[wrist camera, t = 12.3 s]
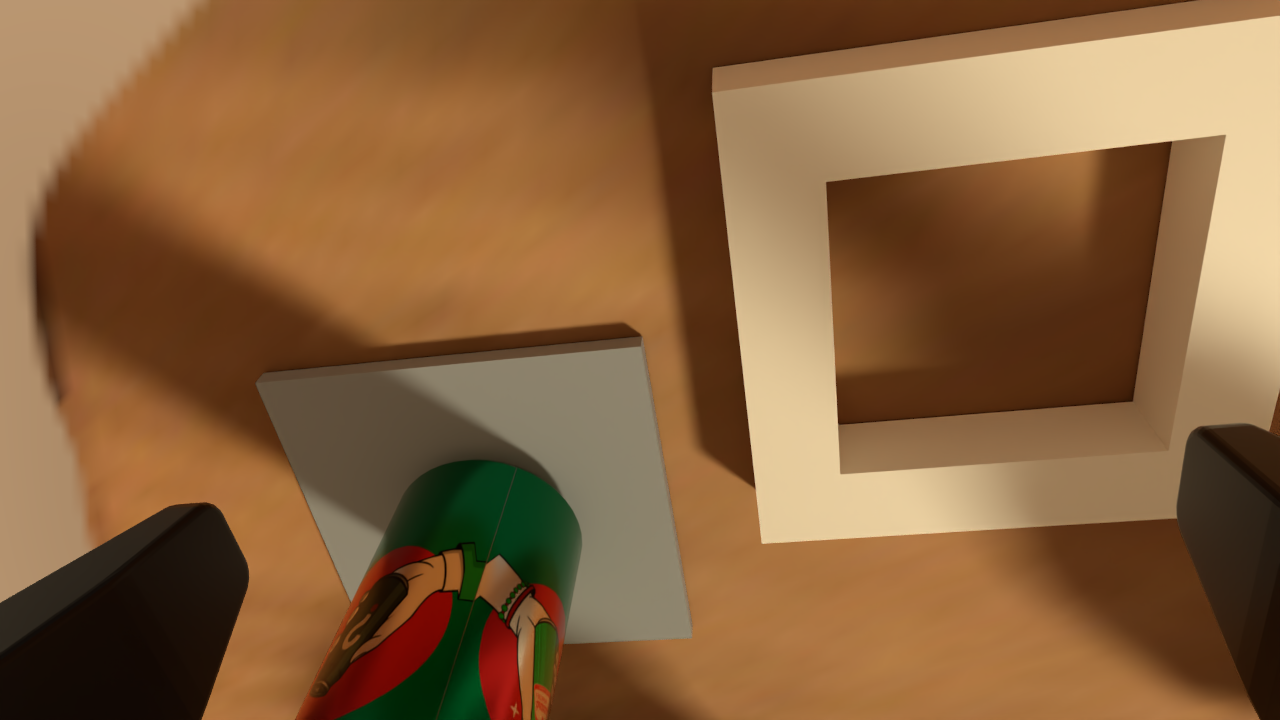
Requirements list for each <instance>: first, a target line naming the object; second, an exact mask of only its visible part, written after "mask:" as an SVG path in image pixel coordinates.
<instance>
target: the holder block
mask: <svg viewBox="0 0 1280 720" xmlns="http://www.w3.org/2000/svg"><path fill="white" fill-rule="evenodd" d="M712 97H713V106H714V115H715V124H716V134H717V143H718V152H719V161H720V170H721V179H722V188H723V197H724V206H725V215H726V224H727V233H728V242H729V251H730V260H731V269H732V278H733V287H734V296H735V305H736V314H737V323H738V332H739V341H740V350H741V359H742V369H743V378H744V387H745V396H746V405H747V414H748V423H749V432H750V441H751V450H752V459H753V468H754V477H755V486H756V495H757V504H758V513H759V522H760V531H761V540H762V544H765V543H781V542H797V541H813V540H830V539H846V538H862V537H879V536H895V535H911V534H928V533H944V532H960V531H977V530H993V529H1009V528H1026V527H1042V526H1058V525H1075V524H1091V523H1107V522H1124V521H1140V520H1156V519H1173V518H1177V515H1176V503H1177V496H1178V490H1179V484H1180V477H1181V471H1182V465H1183V459H1184V452H1185V446H1186V442H1187V439H1188V436H1189V435H1190V433H1191V431H1193V430H1194V429H1196V428H1197V427H1199V426H1206V425H1219V424H1231V423H1249V424H1253V425H1255V426H1258V427H1260V428H1262V429H1264V430H1267V431H1269V430H1270V426H1271V422H1272V418H1273V414H1274V410H1275V406H1276V402H1277V398H1278V394H1279V390H1280V0H1197V1H1189V2H1182V3H1175V4H1168V5H1161V6H1154V7H1146V8H1139V9H1132V10H1125V11H1118V12H1111V13H1103V14H1096V15H1089V16H1082V17H1075V18H1067V19H1060V20H1053V21H1046V22H1039V23H1032V24H1024V25H1017V26H1010V27H1003V28H996V29H989V30H981V31H974V32H967V33H960V34H953V35H945V36H938V37H931V38H924V39H917V40H910V41H902V42H895V43H888V44H881V45H874V46H867V47H859V48H852V49H845V50H838V51H831V52H824V53H816V54H809V55H802V56H795V57H788V58H780V59H773V60H766V61H759V62H752V63H745V64H737V65H730V66H723V67H716V68H713V74H712ZM1167 141H1172V146H1171V153H1170V159H1169V166H1168V173H1167V179H1166V186H1165V192H1164V199H1163V206H1162V212H1161V219H1160V225H1159V232H1158V239H1157V245H1156V252H1155V258H1154V265H1153V272H1152V278H1151V285H1150V291H1149V298H1148V305H1147V311H1146V318H1145V324H1144V331H1143V338H1142V344H1141V351H1140V357H1139V364H1138V371H1137V377H1136V384H1135V390H1134V397H1133V402H1121V403H1108V404H1096V405H1083V406H1071V407H1058V408H1046V409H1033V410H1020V411H1008V412H995V413H983V414H970V415H957V416H945V417H932V418H920V419H907V420H895V421H882V422H869V423H857V424H844V425H838V416H837V396H836V375H835V355H834V335H833V314H832V294H831V274H830V253H829V233H828V213H827V192H826V182H830V181H838V180H847V179H855V178H864V177H872V176H881V175H889V174H897V173H906V172H914V171H923V170H931V169H940V168H948V167H956V166H965V165H973V164H982V163H990V162H999V161H1007V160H1016V159H1024V158H1032V157H1041V156H1049V155H1058V154H1066V153H1075V152H1083V151H1091V150H1100V149H1108V148H1117V147H1125V146H1134V145H1142V144H1150V143H1159V142H1167Z"/></svg>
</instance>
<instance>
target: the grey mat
mask: <svg viewBox="0 0 1280 720" xmlns="http://www.w3.org/2000/svg"><path fill="white" fill-rule="evenodd" d="M255 384H256V387H257V389H258V391H259V394H260V396H261V398H262V400H263V403H264V405H265V407H266V410H267V412H268V414H269V416H270V419H271V421H272V423H273V426H274V428H275V430H276V432H277V435H278V437H279V439H280V441H281V444H282V446H283V448H284V451H285V453H286V455H287V457H288V460H289V462H290V464H291V467H292V469H293V471H294V473H295V476H296V478H297V480H298V483H299V485H300V487H301V489H302V492H303V494H304V496H305V499H306V501H307V503H308V505H309V508H310V510H311V512H312V515H313V517H314V519H315V521H316V524H317V526H318V528H319V530H320V533H321V535H322V537H323V540H324V542H325V544H326V546H327V549H328V551H329V553H330V556H331V558H332V560H333V562H334V565H335V567H336V569H337V572H338V574H339V576H340V578H341V581H342V583H343V585H344V588H345V590H346V592H347V594H348V597H349V599H350V601H351V602H352V600H353V598H354V596H355V594H356V592H357V590H358V587H359V585H360V583H361V581H362V579H363V577H364V575H365V573H366V571H367V569H368V567H369V565H370V562H371V560H372V558H373V556H374V554H375V552H376V550H377V548H378V546H379V544H380V542H381V540H382V537H383V535H384V533H385V531H386V529H387V527H388V525H389V523H390V521H391V519H392V517H393V515H394V512H395V510H396V508H397V506H398V504H399V502H400V500H401V498H402V496H403V494H404V492H405V491H406V490H407V488H408V487H409V486H410V484H411V483H413V482H414V481H415V480H416V479H417V478H418V477H419V476H421V475H422V474H424V473H426V472H427V471H429V470H431V469H433V468H436V467H438V466H440V465H443V464H447V463H451V462H455V461H462V460H473V459H484V460H495V461H501V462H506V463H509V464H512V465H516V466H519V467H521V468H523V469H525V470H528V471H530V472H532V473H533V474H535V475H537V476H539V477H540V478H542V479H543V480H544V481H546V482H547V483H548V484H549V485H551V486H552V487H553V488H554V489H555V490H556V491H557V492H558V493H559V494H560V495H561V496H562V497H563V498H564V499H565V500H566V501H567V503H568V504H569V506H570V507H571V508H572V510H573V512H574V514H575V516H576V518H577V520H578V522H579V526H580V529H581V533H582V551H581V557H580V562H579V567H578V572H577V578H576V583H575V588H574V593H573V598H572V604H571V609H570V614H569V619H568V624H567V629H566V635H565V640H564V644H577V643H598V642H620V641H641V640H663V639H684V638H692V620H691V614H690V609H689V603H688V597H687V591H686V585H685V580H684V574H683V568H682V562H681V557H680V551H679V545H678V539H677V534H676V528H675V522H674V516H673V510H672V505H671V499H670V493H669V487H668V482H667V476H666V470H665V464H664V459H663V453H662V447H661V441H660V436H659V430H658V424H657V418H656V412H655V407H654V401H653V395H652V389H651V384H650V378H649V372H648V366H647V361H646V355H645V349H644V343H643V337H642V336H640V337H630V338H619V339H609V340H599V341H588V342H578V343H568V344H557V345H547V346H537V347H526V348H516V349H506V350H495V351H485V352H475V353H464V354H454V355H444V356H433V357H423V358H413V359H402V360H392V361H381V362H371V363H361V364H350V365H340V366H330V367H319V368H309V369H299V370H288V371H278V372H268V373H263V374H262V375H261V377H260V378H259V379H258V380H257V381H256V382H255Z"/></svg>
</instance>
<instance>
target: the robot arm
mask: <svg viewBox="0 0 1280 720" xmlns="http://www.w3.org/2000/svg"><path fill="white" fill-rule="evenodd" d="M1176 515H1177V522H1178V526H1179V530H1180V533H1181V536H1182V538H1183V540H1184V543H1185V545H1186V548H1187V550H1188V553H1189V555H1190V558H1191V560H1192V563H1193V565H1194V567H1195V570H1196V572H1197V575H1198V577H1199V580H1200V582H1201V585H1202V587H1203V590H1204V592H1205V595H1206V597H1207V599H1208V602H1209V604H1210V607H1211V609H1212V612H1213V614H1214V617H1215V619H1216V622H1217V624H1218V626H1219V629H1220V631H1221V634H1222V636H1223V639H1224V641H1225V644H1226V646H1227V649H1228V651H1229V653H1230V656H1231V658H1232V661H1233V663H1234V666H1235V668H1236V670H1237V673H1238V675H1239V677H1240V680H1241V682H1242V684H1243V686H1244V689H1245V691H1246V693H1247V695H1248V697H1249V699H1250V701H1251V703H1252V705H1253V707H1254V709H1255V711H1256V713H1257V715H1258V717H1259V719H1260V720H1280V436H1278V435H1276V434H1273V433H1271V432H1269V431H1267V430H1264V429H1262V428H1260V427H1258V426H1255V425H1253V424H1249V423H1231V424H1219V425H1206V426H1199V427H1197V428H1196V429H1194V430H1193V431H1191V433H1190V435H1189V436H1188V439H1187V442H1186V446H1185V452H1184V459H1183V465H1182V471H1181V477H1180V484H1179V490H1178V496H1177V503H1176ZM248 582H249V570H248V565H247V562H246V559H245V557H244V555H243V553H242V551H241V549H240V547H239V545H238V544H237V542H236V540H235V538H234V536H233V534H232V532H231V530H230V528H229V526H228V524H227V522H226V520H225V518H224V516H223V514H222V512H221V511H220V510H219V509H218V508H217V507H216V506H215V505H213V504H210V503H206V502H203V503H190V504H178V505H173V506H169V507H167V508H165V509H163V510H161V511H160V512H158V513H156V514H154V515H153V516H151V517H149V518H147V519H146V520H144V521H142V522H140V523H139V524H137V525H135V526H133V527H132V528H130V529H128V530H126V531H125V532H123V533H121V534H119V535H118V536H116V537H114V538H112V539H111V540H109V541H107V542H105V543H104V544H102V545H100V546H98V547H97V548H95V549H93V550H92V551H90V552H88V553H86V554H85V555H83V556H81V557H79V558H78V559H76V560H74V561H72V562H71V563H69V564H67V565H66V566H64V567H62V568H60V569H58V570H57V571H55V572H53V573H51V574H50V575H48V576H46V577H44V578H43V579H41V580H39V581H37V582H36V583H34V584H32V585H30V586H29V587H27V588H25V589H24V590H22V591H20V592H18V593H17V594H15V595H13V596H12V597H9V598H8V599H6V600H4V601H2V602H1V603H0V720H201V719H202V717H203V714H204V711H205V709H206V706H207V703H208V700H209V697H210V695H211V692H212V689H213V686H214V683H215V680H216V677H217V674H218V672H219V669H220V666H221V663H222V660H223V657H224V654H225V651H226V649H227V646H228V643H229V640H230V637H231V634H232V631H233V628H234V626H235V623H236V620H237V617H238V614H239V611H240V608H241V605H242V603H243V600H244V597H245V594H246V591H247V587H248Z"/></svg>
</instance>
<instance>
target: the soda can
mask: <svg viewBox="0 0 1280 720" xmlns="http://www.w3.org/2000/svg"><path fill="white" fill-rule="evenodd" d="M581 551H582V533H581V529H580V526H579V522H578V520H577V518H576V516H575V514H574V512H573V510H572V508H571V507H570V506H569V504H568V503H567V501H566V500H565V499H564V498H563V497H562V496H561V495H560V494H559V493H558V492H557V491H556V490H555V489H554V488H553V487H552V486H551V485H549V484H548V483H547V482H546V481H544V480H543V479H542V478H540V477H539V476H537V475H535V474H533V473H532V472H530V471H528V470H525V469H523V468H521V467H519V466H516V465H512V464H509V463H506V462H501V461H495V460H484V459H473V460H462V461H455V462H451V463H447V464H443V465H440V466H438V467H436V468H433V469H431V470H429V471H427V472H426V473H424V474H422V475H421V476H419V477H418V478H417V479H416V480H415V481H414V482H413V483H411V484H410V486H409V487H408V488H407V490H406V491H405V492H404V494H403V496H402V498H401V500H400V502H399V504H398V506H397V508H396V510H395V512H394V515H393V517H392V519H391V521H390V523H389V525H388V527H387V529H386V531H385V533H384V535H383V537H382V540H381V542H380V544H379V546H378V548H377V550H376V552H375V554H374V556H373V558H372V560H371V562H370V565H369V567H368V569H367V571H366V573H365V575H364V577H363V579H362V581H361V583H360V585H359V587H358V590H357V592H356V594H355V596H354V598H353V600H352V602H351V604H350V606H349V608H348V610H347V612H346V615H345V617H344V619H343V621H342V623H341V625H340V627H339V629H338V631H337V633H336V635H335V637H334V639H333V642H332V644H331V646H330V648H329V650H328V652H327V654H326V656H325V658H324V660H323V662H322V664H321V667H320V669H319V671H318V673H317V675H316V677H315V679H314V681H313V683H312V685H311V687H310V689H309V692H308V694H307V696H306V698H305V700H304V702H303V704H302V706H301V708H300V710H299V712H298V714H297V717H296V719H295V720H549V717H550V712H551V707H552V702H553V697H554V691H555V686H556V681H557V676H558V671H559V666H560V660H561V655H562V650H563V645H564V640H565V635H566V629H567V624H568V619H569V614H570V609H571V604H572V598H573V593H574V588H575V583H576V578H577V572H578V567H579V562H580V557H581Z"/></svg>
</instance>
